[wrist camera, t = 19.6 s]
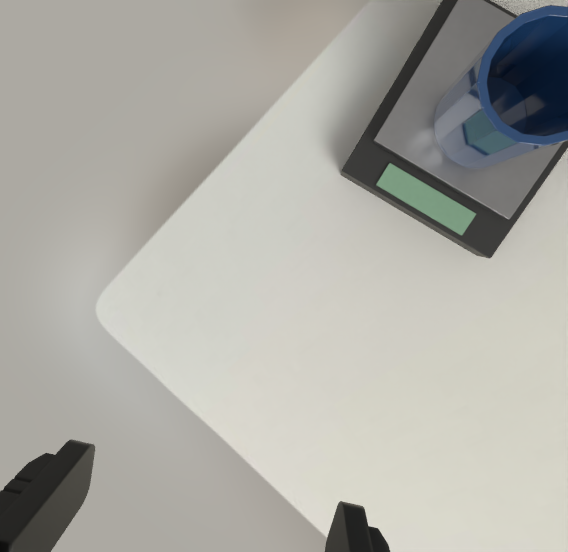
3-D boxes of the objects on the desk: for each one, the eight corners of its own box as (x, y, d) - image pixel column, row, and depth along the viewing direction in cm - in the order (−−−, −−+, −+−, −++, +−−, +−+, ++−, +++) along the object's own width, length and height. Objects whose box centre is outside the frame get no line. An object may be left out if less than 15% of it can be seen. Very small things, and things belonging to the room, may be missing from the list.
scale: (340, 174, 35) (341, 170, 32) (443, 0, 32) (455, -22, 29) (477, 255, 34) (491, 259, 31) (594, 86, 32) (621, 72, 29)
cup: (415, 139, 30) (451, 103, 21) (468, 55, 29) (530, -20, 20) (492, 185, 30) (562, 168, 21) (548, 102, 28) (648, 47, 20)
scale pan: (372, 142, 31) (373, 140, 30) (460, -4, 29) (464, -11, 28) (503, 220, 31) (509, 220, 30) (601, 78, 29) (611, 72, 28)
